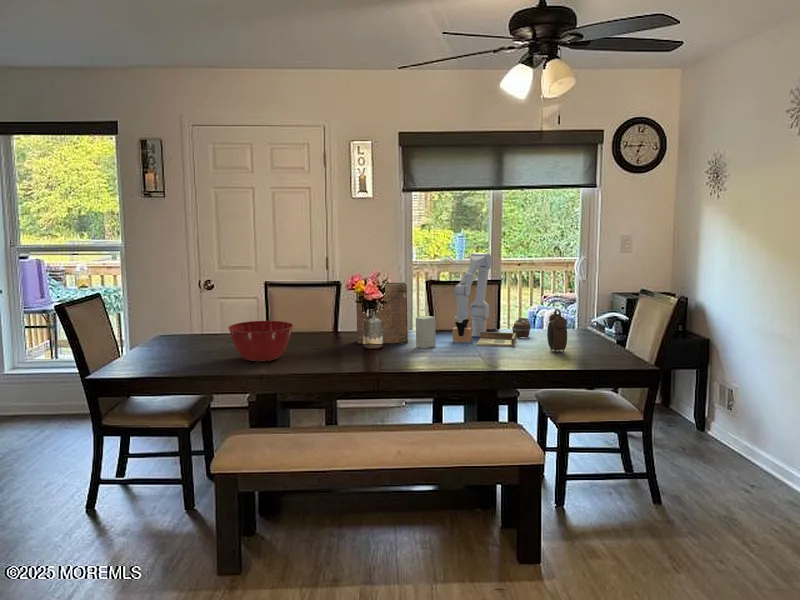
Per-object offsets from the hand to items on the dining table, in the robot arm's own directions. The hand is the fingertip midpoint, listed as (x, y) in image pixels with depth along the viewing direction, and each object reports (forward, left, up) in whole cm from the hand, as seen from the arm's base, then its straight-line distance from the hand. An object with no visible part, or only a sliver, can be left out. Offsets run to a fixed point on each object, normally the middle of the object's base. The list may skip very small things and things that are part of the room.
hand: (462, 334), depth 326 cm
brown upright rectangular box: (+10, -39, -4) cm, 41 cm away
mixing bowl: (+58, -82, -4) cm, 101 cm away
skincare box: (+17, -15, -4) cm, 23 cm away
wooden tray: (+1, +18, -4) cm, 18 cm away
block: (0, 0, -4) cm, 4 cm away
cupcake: (-19, +29, -4) cm, 35 cm away
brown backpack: (+17, +47, -4) cm, 50 cm away
